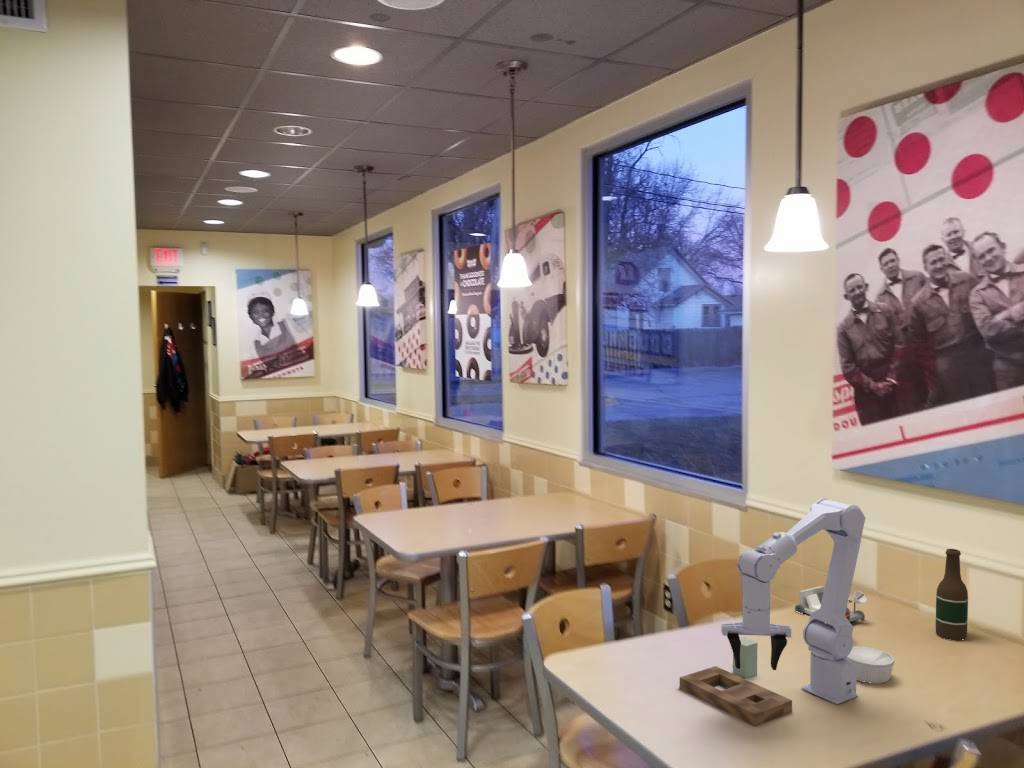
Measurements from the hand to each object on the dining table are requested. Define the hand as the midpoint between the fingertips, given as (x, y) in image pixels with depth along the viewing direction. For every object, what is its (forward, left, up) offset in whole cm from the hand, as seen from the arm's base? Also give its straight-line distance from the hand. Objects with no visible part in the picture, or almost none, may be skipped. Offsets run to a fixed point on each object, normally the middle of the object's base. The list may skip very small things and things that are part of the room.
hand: (755, 667), depth 171 cm
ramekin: (-3, -37, -10) cm, 38 cm away
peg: (+14, -13, -9) cm, 21 cm away
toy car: (+27, -66, -10) cm, 72 cm away
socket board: (+6, 0, -9) cm, 11 cm away
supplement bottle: (+15, -51, -10) cm, 54 cm away
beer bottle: (0, -80, -10) cm, 81 cm away
